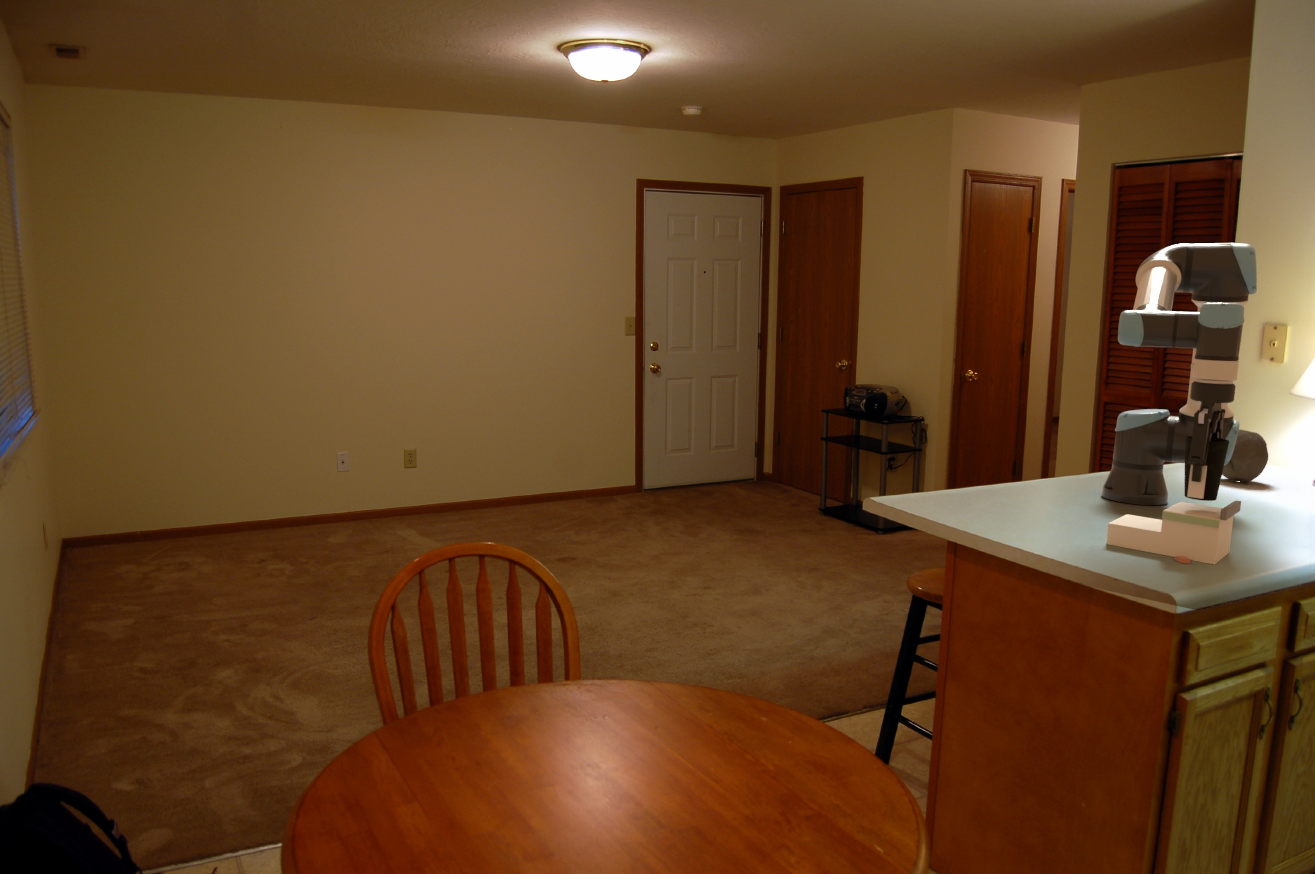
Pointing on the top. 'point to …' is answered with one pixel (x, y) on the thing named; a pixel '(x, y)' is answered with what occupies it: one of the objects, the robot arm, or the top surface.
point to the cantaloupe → (1247, 457)
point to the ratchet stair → (1179, 532)
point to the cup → (1209, 467)
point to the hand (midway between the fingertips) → (1200, 494)
